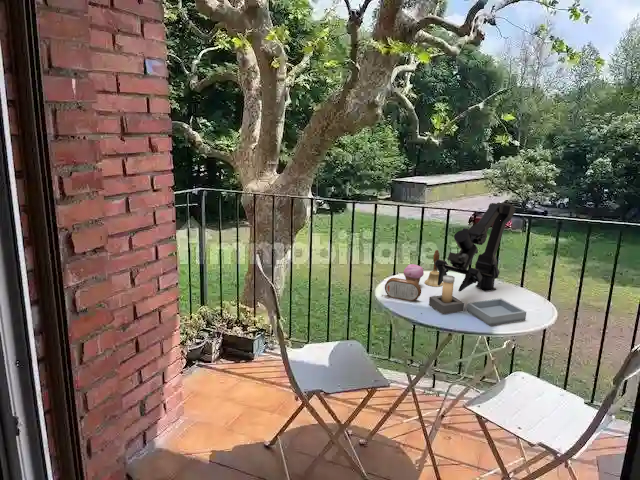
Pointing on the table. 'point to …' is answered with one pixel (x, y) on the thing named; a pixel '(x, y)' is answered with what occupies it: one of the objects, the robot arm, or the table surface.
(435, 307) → the frame
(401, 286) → the tin
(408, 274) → the cupcake
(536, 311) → the table surface
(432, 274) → the hand bell
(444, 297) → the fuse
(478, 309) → the parts tray
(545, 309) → the table surface
